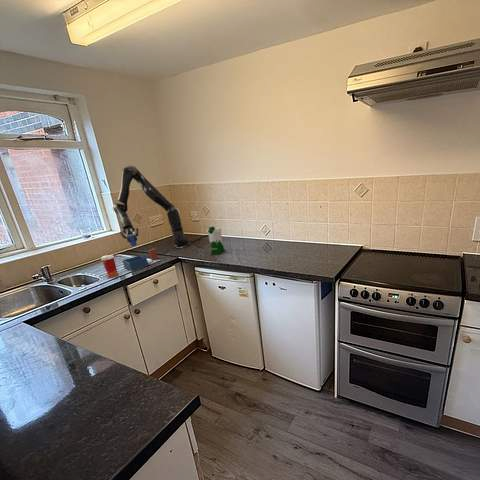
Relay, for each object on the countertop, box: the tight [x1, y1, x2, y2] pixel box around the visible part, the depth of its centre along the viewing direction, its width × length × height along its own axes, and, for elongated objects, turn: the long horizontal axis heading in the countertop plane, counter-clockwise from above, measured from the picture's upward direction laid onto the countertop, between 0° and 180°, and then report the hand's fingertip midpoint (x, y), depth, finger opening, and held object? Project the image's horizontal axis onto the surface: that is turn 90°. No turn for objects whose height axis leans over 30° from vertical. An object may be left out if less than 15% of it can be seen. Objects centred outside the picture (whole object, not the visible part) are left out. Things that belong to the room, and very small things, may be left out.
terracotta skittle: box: [149, 248, 158, 261], centre depth 224 cm, size 4×4×8 cm
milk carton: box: [206, 226, 226, 255], centre depth 220 cm, size 9×9×20 cm
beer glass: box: [100, 254, 119, 278], centre depth 197 cm, size 8×8×14 cm
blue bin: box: [122, 255, 149, 271], centre depth 213 cm, size 12×12×6 cm
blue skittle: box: [128, 234, 138, 247], centre depth 233 cm, size 4×4×8 cm
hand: (132, 240), depth 231 cm, fingers closed on blue skittle, 4 cm apart
